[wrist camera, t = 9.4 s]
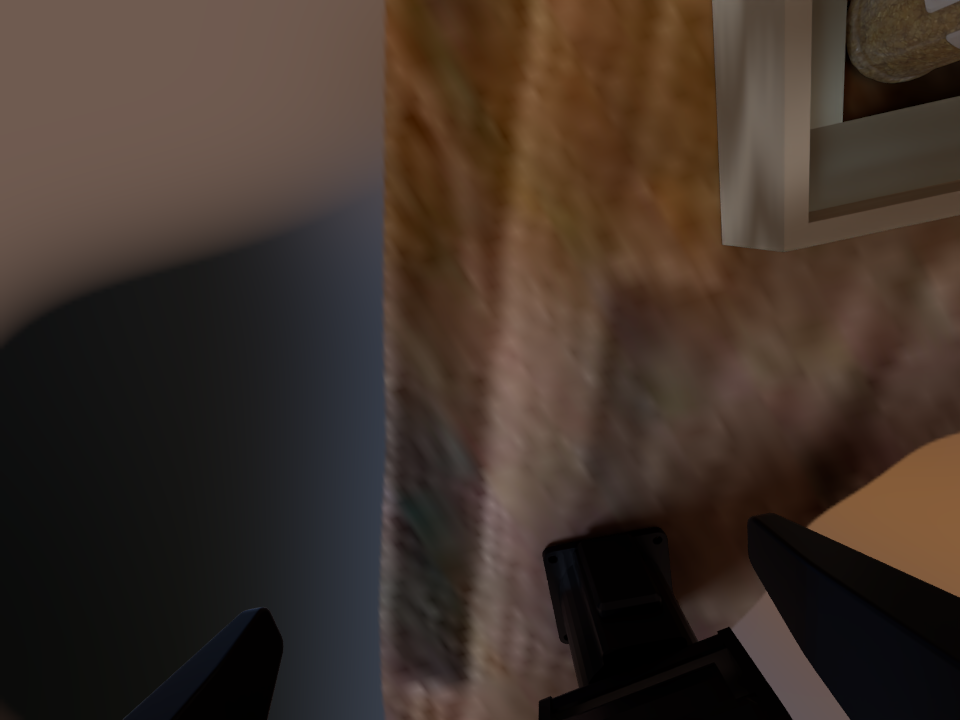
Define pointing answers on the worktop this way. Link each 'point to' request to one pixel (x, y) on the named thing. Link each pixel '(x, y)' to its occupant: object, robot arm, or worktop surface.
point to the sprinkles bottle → (902, 37)
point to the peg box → (817, 135)
